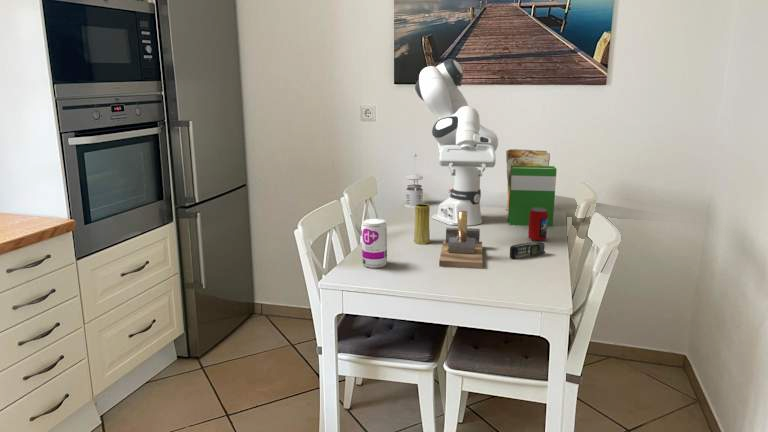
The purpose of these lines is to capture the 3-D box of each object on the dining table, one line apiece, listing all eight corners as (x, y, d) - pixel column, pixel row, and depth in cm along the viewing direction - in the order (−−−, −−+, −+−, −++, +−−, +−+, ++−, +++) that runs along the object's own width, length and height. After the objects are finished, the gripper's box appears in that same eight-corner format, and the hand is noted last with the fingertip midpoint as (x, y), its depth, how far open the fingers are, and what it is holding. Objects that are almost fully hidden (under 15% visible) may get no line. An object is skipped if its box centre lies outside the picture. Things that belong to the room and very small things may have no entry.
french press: (402, 207, 272) (402, 155, 265) (405, 202, 283) (406, 151, 277) (423, 208, 270) (424, 155, 264) (425, 203, 281) (426, 152, 275)
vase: (432, 240, 219) (432, 204, 215) (426, 245, 213) (427, 207, 210) (417, 239, 221) (417, 202, 218) (411, 243, 216) (411, 206, 212)
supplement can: (378, 270, 187) (378, 225, 183) (357, 265, 191) (356, 222, 188) (391, 263, 194) (391, 220, 190) (370, 259, 198) (370, 216, 194)
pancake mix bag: (504, 207, 271) (507, 148, 264) (546, 210, 265) (550, 150, 258) (502, 210, 265) (505, 150, 258) (545, 214, 259) (549, 152, 252)
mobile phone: (513, 247, 195) (549, 240, 201) (508, 244, 198) (543, 238, 204) (513, 261, 197) (548, 254, 202) (507, 258, 199) (542, 252, 205)
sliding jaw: (449, 247, 203) (450, 209, 200) (474, 248, 202) (476, 210, 198) (448, 252, 197) (449, 213, 194) (474, 253, 196) (476, 214, 193)
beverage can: (546, 242, 216) (548, 211, 213) (528, 241, 217) (530, 210, 214) (545, 237, 222) (547, 207, 219) (527, 236, 224) (529, 206, 221)
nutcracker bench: (443, 245, 213) (443, 226, 212) (481, 246, 211) (482, 228, 209) (439, 266, 190) (439, 246, 189) (482, 268, 188) (482, 248, 186)
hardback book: (509, 225, 241) (511, 168, 235) (508, 220, 248) (510, 165, 242) (552, 226, 238) (556, 169, 232) (550, 222, 245) (554, 166, 239)
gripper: (439, 138, 211) (437, 169, 204) (495, 139, 208) (496, 170, 201) (439, 148, 216) (437, 179, 209) (494, 149, 214) (494, 180, 207)
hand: (466, 175), depth 205 cm, fingers open, 8 cm apart
